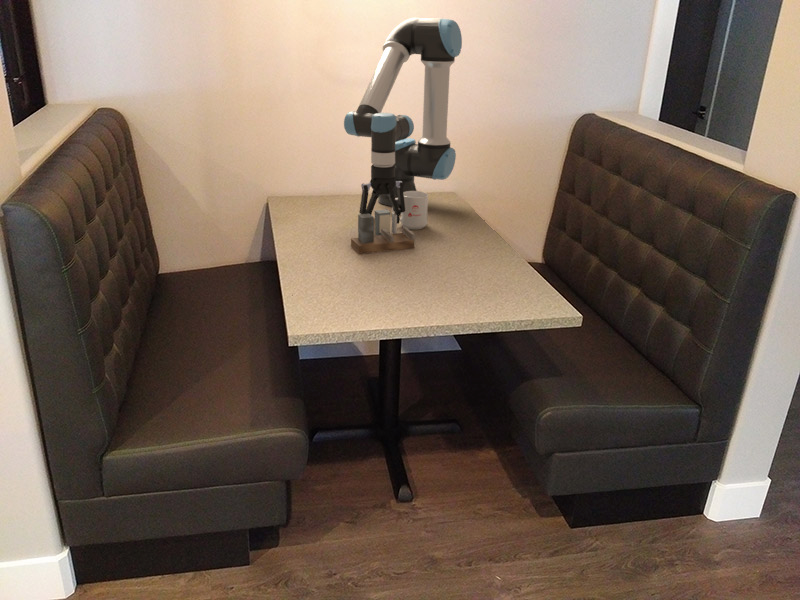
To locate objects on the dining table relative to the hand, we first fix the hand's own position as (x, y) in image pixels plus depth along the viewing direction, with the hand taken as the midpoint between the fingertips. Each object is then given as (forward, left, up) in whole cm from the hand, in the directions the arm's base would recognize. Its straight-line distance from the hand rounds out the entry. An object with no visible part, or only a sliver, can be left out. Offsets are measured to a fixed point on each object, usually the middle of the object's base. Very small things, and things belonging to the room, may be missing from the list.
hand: (382, 234), depth 230 cm
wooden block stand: (+4, +11, 0) cm, 12 cm away
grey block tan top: (0, 0, 0) cm, 0 cm away
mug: (-12, -6, -1) cm, 13 cm away
